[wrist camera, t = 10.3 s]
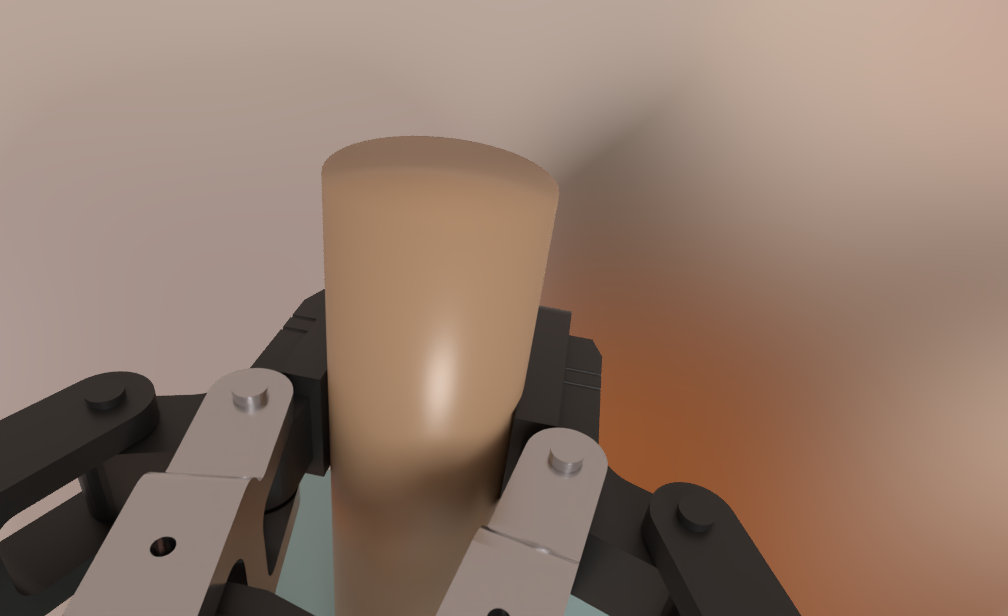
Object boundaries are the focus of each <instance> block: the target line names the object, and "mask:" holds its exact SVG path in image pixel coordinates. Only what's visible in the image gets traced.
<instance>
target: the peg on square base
mask: <svg viewBox="0 0 1008 616" xmlns="http://www.w3.org/2000/svg"><path fill="white" fill-rule="evenodd" d="M321 174H322V204H323V205H322V208H323V240H324V269H325V270H324V273H325V306H326V339H327V372H328V405H329V438H330V467H331V469H330V470H327V472H326V474H325V476H324V477H322V476H317V475H312V474H307V473H305V475H304V476H303V478H302V480H301V482H300V497H301V501H300V506H299V509H298V513H297V517H296V520H295V524H294V527H293V531H292V534H291V538H290V541H289V545H288V549H287V552H286V556H285V559H284V563H283V566H282V570H281V574H280V577H279V581H278V584H277V588H276V593H275V594H276V595H278V596H280V597H282V598H283V599H285V600H287V601H289V602H291V603H293V604H295V605H296V606H298V607H300V608H302V609H304V610H306V611H308V612H309V613H311V614H313V615H315V616H436V614H437V612H438V610H439V608H440V606H441V604H442V601H443V599H444V597H445V595H446V593H447V591H448V589H449V587H450V585H451V583H452V581H453V579H454V577H455V575H456V573H457V571H458V569H459V566H460V564H461V562H462V560H463V558H464V556H465V554H466V552H467V550H468V548H469V546H470V544H471V542H472V540H473V538H474V536H475V534H476V532H477V531H478V529H479V528H480V527H481V526H482V525H484V526H488V524H489V522H490V520H491V518H492V516H493V514H494V512H495V509H496V507H497V505H498V503H499V501H500V496H501V490H502V484H503V479H504V473H505V468H506V462H507V456H508V451H509V445H510V440H511V434H512V428H513V423H514V417H515V412H516V408H517V404H518V402H519V400H520V398H521V396H522V393H523V389H524V384H525V379H526V373H527V368H528V363H529V357H530V352H531V346H532V341H533V335H534V330H535V324H536V319H537V313H538V308H539V302H540V297H541V291H542V286H543V280H544V275H545V270H546V264H547V258H548V253H549V247H550V242H551V237H552V231H553V226H554V220H555V215H556V209H557V204H558V199H559V189H558V186H557V183H556V182H555V180H554V179H553V178H552V177H551V176H550V174H549V173H548V172H546V171H545V170H544V169H543V168H541V167H540V166H538V165H537V164H535V163H534V162H532V161H530V160H528V159H526V158H524V157H521V156H519V155H517V154H514V153H512V152H509V151H506V150H503V149H500V148H496V147H493V146H489V145H485V144H481V143H477V142H472V141H466V140H460V139H453V138H443V137H429V136H400V137H386V138H379V139H373V140H368V141H363V142H360V143H356V144H353V145H350V146H347V147H345V148H343V149H341V150H339V151H337V152H335V153H334V154H332V155H331V156H330V157H329V158H328V159H327V160H326V161H325V163H324V165H323V167H322V173H321ZM564 616H609V615H607V614H605V613H604V612H602V611H600V610H598V609H596V608H595V607H593V606H591V605H589V604H587V603H586V602H584V601H582V600H580V599H578V598H577V597H575V596H573V595H571V594H570V596H569V599H568V603H567V606H566V610H565V613H564Z"/></svg>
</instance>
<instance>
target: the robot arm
mask: <svg viewBox="0 0 1008 616" xmlns="http://www.w3.org/2000/svg"><path fill="white" fill-rule="evenodd" d="M570 321H571V311H565V310H560V309H555V308H550V307H544V306H539V308H538V313H537V319H536V324H535V330H534V335H533V341H532V346H531V352H530V357H529V363H528V368H527V373H526V379H525V384H524V389H523V393H522V396H521V398H520V400H519V402H518V404H517V408H516V412H515V417H514V423H513V428H512V434H511V440H510V445H509V451H508V456H507V462H506V468H505V473H504V479H503V484H502V490H501V496H500V501H499V503H498V505H497V507H496V509H495V512H494V514H493V516H492V518H491V520H490V522H489V524H488V526H484V525H482V526H481V527H480V528H479V529H478V531H477V532H476V534H475V536H474V538H473V540H472V542H471V544H470V546H469V548H468V550H467V552H466V554H465V556H464V558H463V560H462V562H461V564H460V566H459V569H458V571H457V573H456V575H455V577H454V579H453V581H452V583H451V585H450V587H449V589H448V591H447V593H446V595H445V597H444V599H443V601H442V604H441V606H440V608H439V610H438V612H437V614H436V616H564V613H565V610H566V606H567V603H568V599H569V596H570V594H571V595H573V596H575V597H577V598H578V599H580V600H582V601H584V602H586V603H587V604H589V605H591V606H593V607H595V608H596V609H598V610H600V611H602V612H604V613H605V614H607V615H609V616H801V615H800V614H799V612H798V610H797V608H796V607H795V606H794V604H793V602H792V601H791V600H790V598H789V596H788V595H787V593H786V592H785V590H784V589H783V587H782V586H781V584H780V583H779V581H778V579H777V578H776V577H775V575H774V573H773V572H772V570H771V569H770V567H769V566H768V564H767V563H766V561H765V559H764V558H763V556H762V555H761V553H760V552H759V551H758V549H757V547H756V546H755V544H754V543H753V541H752V540H751V538H750V536H749V535H748V533H747V532H746V530H745V529H744V527H743V526H742V524H741V523H740V521H739V520H738V518H737V517H736V515H735V514H734V512H733V511H732V509H731V508H730V507H729V506H728V504H727V503H726V502H725V501H724V500H722V499H721V498H720V497H719V496H718V495H716V494H714V493H713V492H711V491H710V490H708V489H706V488H703V487H700V486H698V485H695V484H691V483H683V482H674V483H669V484H666V485H663V486H661V487H660V488H658V489H657V490H656V491H655V492H654V494H653V493H650V492H648V491H646V490H644V489H642V488H640V487H638V486H636V485H634V484H632V483H630V482H628V481H626V480H624V479H623V478H621V477H620V476H618V475H617V474H616V473H615V472H614V471H613V470H612V469H611V468H610V467H609V466H608V463H607V458H606V455H605V454H604V451H603V450H602V448H601V447H600V446H599V443H598V440H599V416H600V414H599V413H600V388H601V365H602V356H601V354H600V352H599V351H598V349H597V347H596V346H595V344H594V342H593V340H591V339H585V338H581V337H575V336H570V335H569V329H570ZM329 466H330V438H329V405H328V372H327V339H326V306H325V289H323V290H322V291H320V292H318V293H316V294H314V295H313V296H311V297H309V298H307V299H305V300H304V301H303V302H302V304H301V305H300V306H299V307H298V309H297V310H296V311H295V313H294V314H293V317H292V318H290V319H289V320H288V321H287V322H286V324H285V325H284V326H283V330H280V331H279V332H278V334H277V335H276V336H275V337H274V339H273V340H272V341H271V342H270V344H269V345H268V346H267V347H266V349H265V350H264V351H263V352H262V354H261V355H260V356H259V357H258V359H257V360H256V361H255V363H254V364H253V365H252V366H251V367H250V369H243V370H239V371H235V372H232V373H230V374H227V375H225V376H224V377H222V378H220V379H219V380H218V381H216V382H215V383H214V384H213V385H212V386H211V387H210V389H209V390H208V392H207V393H204V394H196V395H175V396H156V394H155V389H154V386H153V384H152V382H151V381H150V380H149V379H148V378H146V377H144V376H142V375H140V374H137V373H132V372H108V373H103V374H99V375H95V376H92V377H89V378H86V379H84V380H82V381H80V382H77V383H75V384H73V385H71V386H70V387H67V388H65V389H63V390H61V391H59V392H57V393H55V394H53V395H51V396H49V397H47V398H45V399H43V400H41V401H39V402H37V403H35V404H32V405H30V406H29V407H27V408H24V409H23V410H20V411H18V412H16V413H14V414H12V415H10V416H8V417H6V418H4V419H2V420H0V529H1V528H2V527H3V525H4V524H5V523H6V522H7V521H8V520H9V519H11V518H12V517H13V516H15V515H16V514H18V513H20V512H21V511H23V510H25V509H26V508H28V507H30V506H31V505H33V504H35V503H36V502H38V501H40V500H41V499H43V498H45V497H46V496H48V495H50V494H51V493H53V492H55V491H56V490H58V489H59V488H61V487H63V486H65V485H66V484H68V483H70V482H71V481H73V480H75V479H76V478H78V480H79V483H80V486H81V489H82V492H80V493H78V494H77V495H75V496H74V497H72V498H70V499H69V500H67V501H65V502H64V503H62V504H61V505H59V506H57V507H56V508H54V509H53V510H51V511H49V512H48V513H46V514H44V515H43V516H41V517H39V518H38V519H36V520H35V521H33V522H32V523H30V524H28V525H27V526H25V527H23V528H22V529H20V530H18V531H17V532H15V533H14V534H12V535H11V536H9V537H7V538H5V539H4V540H2V541H1V542H0V616H45V615H46V614H48V613H49V612H51V611H52V610H53V609H55V608H56V607H57V606H59V605H60V604H61V603H63V602H64V601H66V600H67V599H68V598H70V597H71V596H72V595H74V596H73V597H72V599H71V601H70V603H69V604H68V606H67V608H66V610H65V612H64V613H63V615H62V616H315V615H313V614H311V613H309V612H308V611H306V610H304V609H302V608H300V607H298V606H296V605H295V604H293V603H291V602H289V601H287V600H285V599H283V598H282V597H280V596H278V595H276V594H275V593H276V588H277V584H278V581H279V577H280V574H281V570H282V566H283V563H284V559H285V556H286V552H287V549H288V545H289V541H290V538H291V534H292V531H293V527H294V524H295V520H296V517H297V513H298V509H299V506H300V501H301V497H300V482H301V480H302V478H303V476H304V475H305V473H307V474H312V475H317V476H322V477H324V476H325V474H326V472H327V470H328V468H329Z"/></svg>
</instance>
